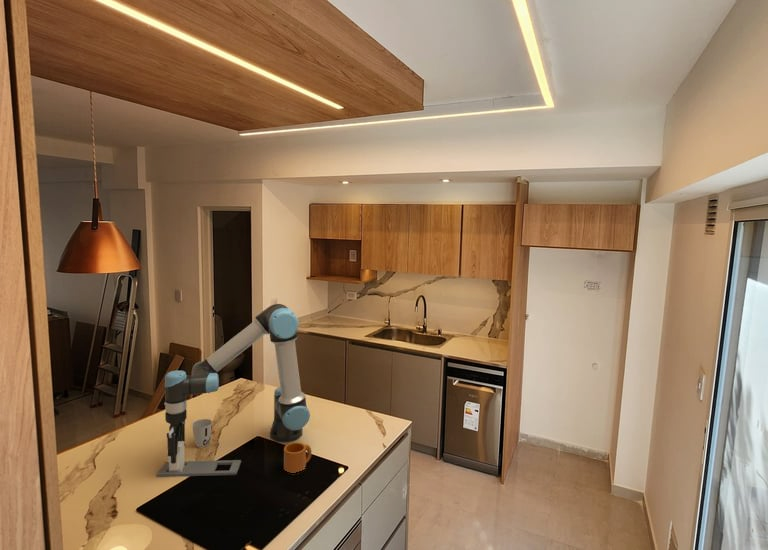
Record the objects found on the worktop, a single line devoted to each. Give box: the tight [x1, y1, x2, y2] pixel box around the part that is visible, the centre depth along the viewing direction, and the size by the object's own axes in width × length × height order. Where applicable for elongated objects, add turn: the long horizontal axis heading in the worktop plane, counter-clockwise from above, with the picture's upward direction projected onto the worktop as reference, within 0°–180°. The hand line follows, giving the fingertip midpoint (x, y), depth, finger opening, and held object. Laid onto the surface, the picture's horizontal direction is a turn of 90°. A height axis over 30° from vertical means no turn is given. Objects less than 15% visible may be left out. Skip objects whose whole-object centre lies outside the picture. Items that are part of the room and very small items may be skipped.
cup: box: [191, 418, 213, 448], centre depth 191 cm, size 8×8×10 cm
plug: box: [168, 441, 186, 472], centre depth 171 cm, size 5×4×11 cm
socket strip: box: [156, 459, 242, 478], centre depth 173 cm, size 30×9×1 cm, turn 97°
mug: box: [283, 441, 312, 473], centre depth 177 cm, size 9×12×9 cm
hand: (176, 465), depth 172 cm, fingers closed on plug, 4 cm apart
